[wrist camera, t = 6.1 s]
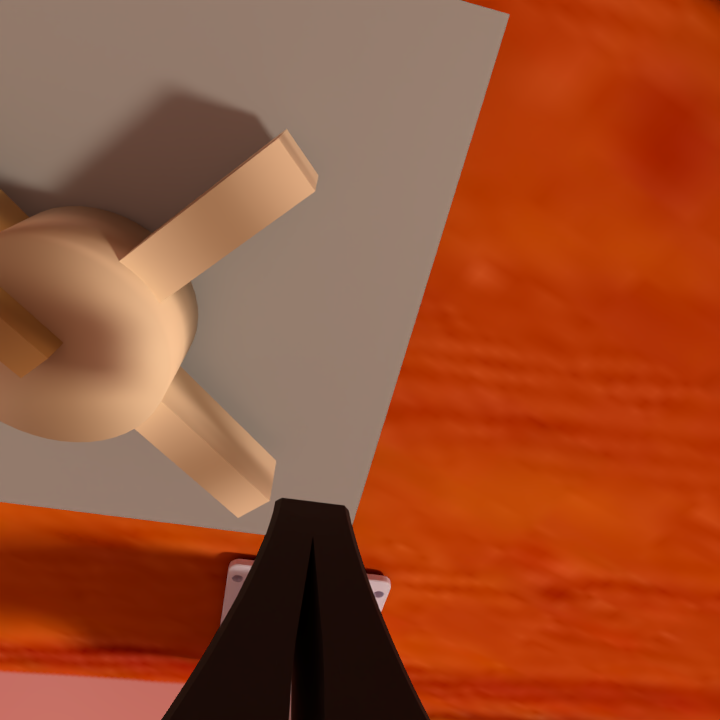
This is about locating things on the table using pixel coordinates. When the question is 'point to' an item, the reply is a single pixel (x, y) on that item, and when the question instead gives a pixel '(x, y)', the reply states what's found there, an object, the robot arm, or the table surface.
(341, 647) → the robot arm
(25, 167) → the stand board
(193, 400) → the capstan
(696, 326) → the table surface
